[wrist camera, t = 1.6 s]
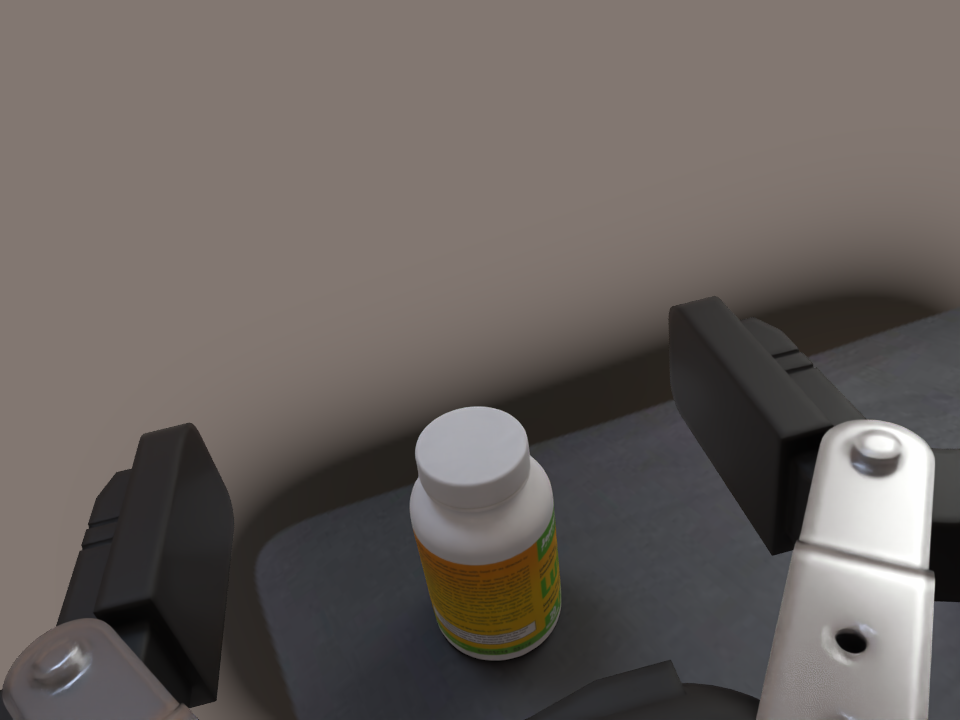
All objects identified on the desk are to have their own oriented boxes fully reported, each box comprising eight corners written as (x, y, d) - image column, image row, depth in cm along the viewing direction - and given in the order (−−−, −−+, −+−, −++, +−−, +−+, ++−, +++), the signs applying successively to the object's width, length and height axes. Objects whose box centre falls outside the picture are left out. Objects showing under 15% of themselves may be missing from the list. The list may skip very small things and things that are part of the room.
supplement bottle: (572, 655, 31) (559, 490, 25) (438, 673, 31) (393, 512, 25) (552, 547, 35) (537, 383, 29) (434, 563, 35) (395, 402, 29)
